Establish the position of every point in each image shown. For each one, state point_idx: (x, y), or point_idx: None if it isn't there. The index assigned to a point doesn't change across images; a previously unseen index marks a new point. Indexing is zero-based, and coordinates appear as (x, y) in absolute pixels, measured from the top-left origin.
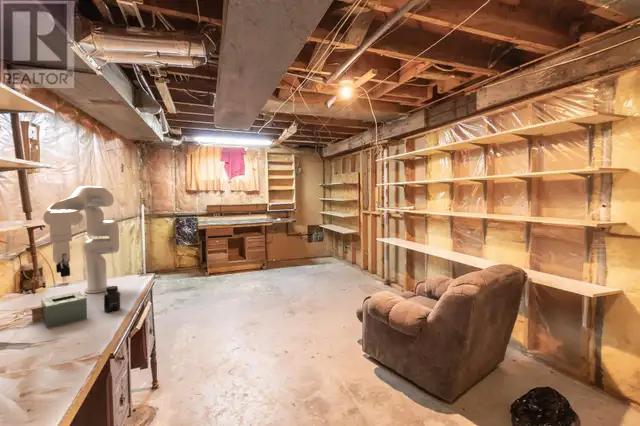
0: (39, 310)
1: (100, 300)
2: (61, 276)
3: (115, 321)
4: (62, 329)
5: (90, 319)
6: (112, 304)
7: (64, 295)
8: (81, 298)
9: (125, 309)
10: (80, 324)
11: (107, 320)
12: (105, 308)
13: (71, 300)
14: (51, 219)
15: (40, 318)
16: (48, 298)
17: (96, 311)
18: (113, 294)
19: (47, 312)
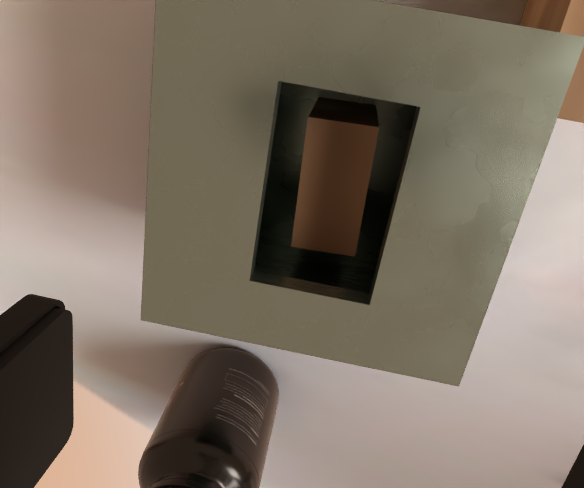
0: (554, 16)
1: (542, 452)
2: (31, 302)
3: (4, 298)
4: (118, 47)
5: None
6: (166, 406)
7: (454, 253)
8: (163, 291)
9: None
10: (122, 161)
11: (60, 283)
12: (210, 363)
13: (172, 213)
14: None
15: (526, 21)
16: (510, 102)
17: None
18: (140, 477)
19: None
